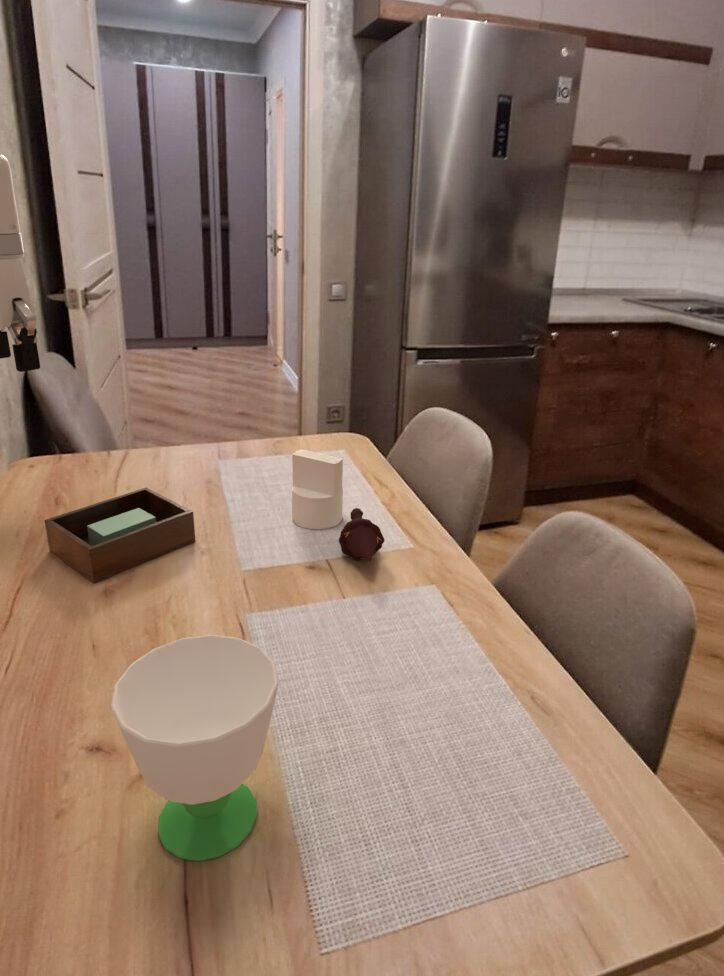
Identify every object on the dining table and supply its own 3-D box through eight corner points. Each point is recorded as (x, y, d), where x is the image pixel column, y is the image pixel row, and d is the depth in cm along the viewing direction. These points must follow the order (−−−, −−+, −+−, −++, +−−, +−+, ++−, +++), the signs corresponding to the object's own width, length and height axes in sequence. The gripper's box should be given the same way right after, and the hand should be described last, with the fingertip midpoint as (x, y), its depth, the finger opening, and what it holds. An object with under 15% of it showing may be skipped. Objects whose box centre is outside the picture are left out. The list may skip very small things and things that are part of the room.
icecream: (399, 542, 101) (378, 507, 115) (352, 534, 99) (337, 499, 113) (386, 583, 103) (368, 543, 116) (340, 575, 100) (327, 536, 114)
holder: (49, 551, 106) (44, 520, 104) (149, 515, 119) (146, 487, 116) (94, 583, 98) (89, 550, 96) (195, 541, 111) (193, 511, 109)
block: (89, 547, 106) (86, 525, 105) (141, 528, 113) (138, 507, 111) (106, 558, 103) (103, 536, 102) (158, 538, 110) (155, 517, 108)
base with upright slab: (351, 513, 123) (352, 453, 119) (326, 533, 116) (326, 470, 111) (309, 503, 126) (309, 443, 122) (282, 521, 119) (281, 459, 114)
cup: (153, 761, 69) (138, 633, 62) (288, 758, 70) (285, 633, 64) (109, 889, 56) (84, 746, 50) (274, 884, 57) (269, 743, 51)
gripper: (-60, 241, 97) (-37, 357, 104) (-9, 252, 87) (13, 379, 94) (-5, 240, 103) (14, 350, 109) (49, 250, 93) (66, 370, 99)
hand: (14, 363), depth 102 cm, fingers open, 9 cm apart
